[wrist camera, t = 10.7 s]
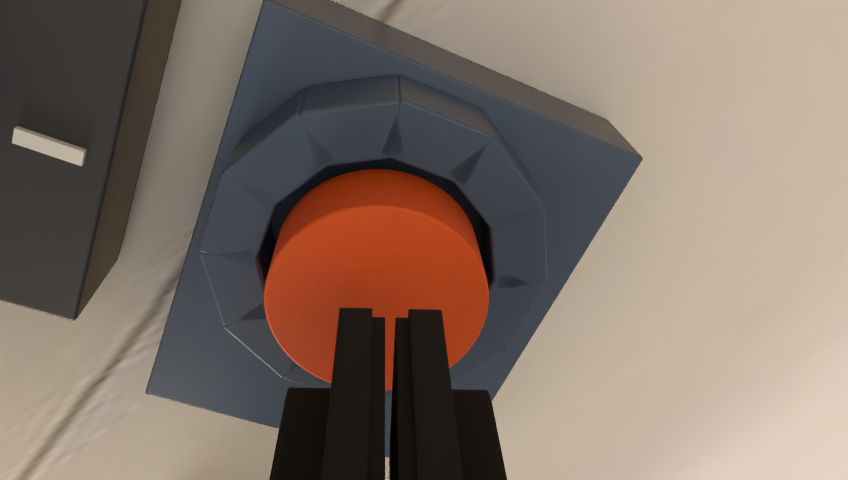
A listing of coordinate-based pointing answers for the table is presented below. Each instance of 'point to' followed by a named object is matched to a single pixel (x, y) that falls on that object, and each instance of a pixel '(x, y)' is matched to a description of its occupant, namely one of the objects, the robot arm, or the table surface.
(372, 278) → the button
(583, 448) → the table surface
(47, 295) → the console
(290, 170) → the button housing
